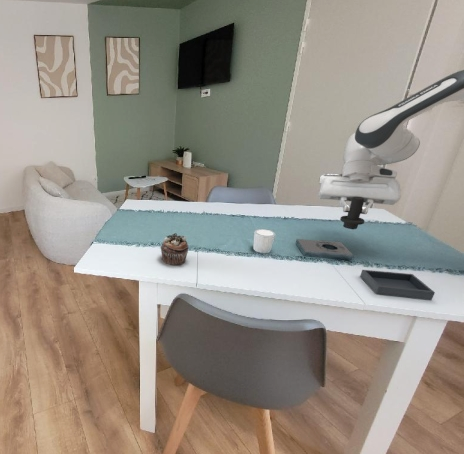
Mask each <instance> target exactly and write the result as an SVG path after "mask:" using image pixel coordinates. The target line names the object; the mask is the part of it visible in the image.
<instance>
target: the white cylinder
mask: <svg viewBox="0 0 464 454" xmlns="http://www.w3.org/2000/svg"><path fill="white" fill-rule="evenodd" d="M275 238H276V232H274V231H273V230H270V229H266V228H258V229H255V230H254V231H253V248H252V249H253V250H254V251H255V252H257V253H261V254H269V253H270V252H271V250H272V247H273V244H274V241H275Z"/></svg>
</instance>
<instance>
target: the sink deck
mask: <svg viewBox="0 0 464 454" xmlns="http://www.w3.org/2000/svg"><path fill="white" fill-rule="evenodd" d="M295 245H296V247H297V248H298V249H299V251H300V252H301V254H302V255H303V257H309V258H311V257H312V258H322V259H323V258H324V259H335V260H345V261H347V260H348V261H352V260H353V256H354V254H353V253H352V252H351V251H350V250H349V249H348V248H347V247H346V246H345V245H344V244H343V243H342V241H333V240H331V241H330V240H318V239H317V240H316V239H304V238H303V239H301V238H296V241H295Z"/></svg>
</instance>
